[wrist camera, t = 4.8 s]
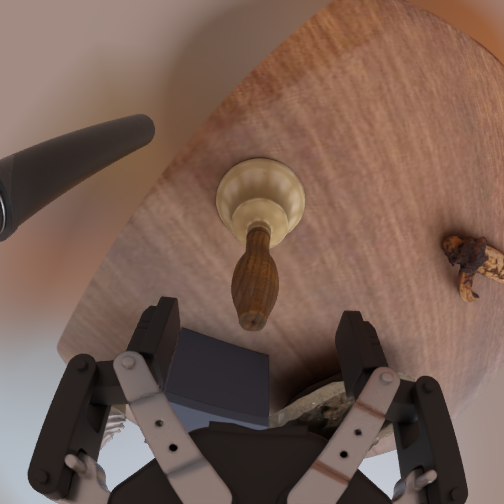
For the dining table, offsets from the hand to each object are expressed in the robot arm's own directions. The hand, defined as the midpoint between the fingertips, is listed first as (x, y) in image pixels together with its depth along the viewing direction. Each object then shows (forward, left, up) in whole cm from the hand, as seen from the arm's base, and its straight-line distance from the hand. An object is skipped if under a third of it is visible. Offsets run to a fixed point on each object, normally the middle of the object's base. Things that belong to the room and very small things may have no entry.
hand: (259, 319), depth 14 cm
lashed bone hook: (+29, +5, -16) cm, 33 cm away
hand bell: (0, 0, -16) cm, 16 cm away
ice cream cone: (-8, -35, -16) cm, 39 cm away
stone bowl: (+25, -23, -16) cm, 37 cm away
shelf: (+4, -27, -16) cm, 31 cm away
